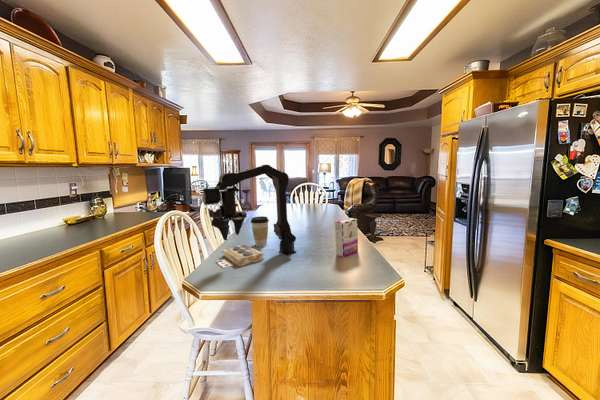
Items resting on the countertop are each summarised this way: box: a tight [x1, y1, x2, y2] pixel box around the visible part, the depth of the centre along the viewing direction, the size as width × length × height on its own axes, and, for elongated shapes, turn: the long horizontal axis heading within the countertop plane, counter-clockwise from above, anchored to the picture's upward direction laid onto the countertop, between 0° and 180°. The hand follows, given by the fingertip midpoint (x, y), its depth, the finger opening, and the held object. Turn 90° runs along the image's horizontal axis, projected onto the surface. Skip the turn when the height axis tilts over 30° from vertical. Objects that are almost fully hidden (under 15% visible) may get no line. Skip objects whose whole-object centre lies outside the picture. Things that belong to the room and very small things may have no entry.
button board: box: [222, 244, 264, 267], centre depth 129 cm, size 12×18×3 cm, turn 38°
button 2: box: [244, 250, 251, 256], centre depth 124 cm, size 3×3×2 cm
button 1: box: [233, 244, 241, 251], centre depth 133 cm, size 3×3×2 cm
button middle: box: [239, 248, 246, 254], centre depth 128 cm, size 3×3×2 cm
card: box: [217, 258, 234, 269], centre depth 122 cm, size 4×10×1 cm, turn 38°
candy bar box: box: [334, 217, 359, 258], centre depth 129 cm, size 11×5×16 cm, turn 131°
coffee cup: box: [250, 215, 270, 247], centre depth 148 cm, size 10×10×15 cm
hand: (231, 237), depth 119 cm, fingers open, 9 cm apart
